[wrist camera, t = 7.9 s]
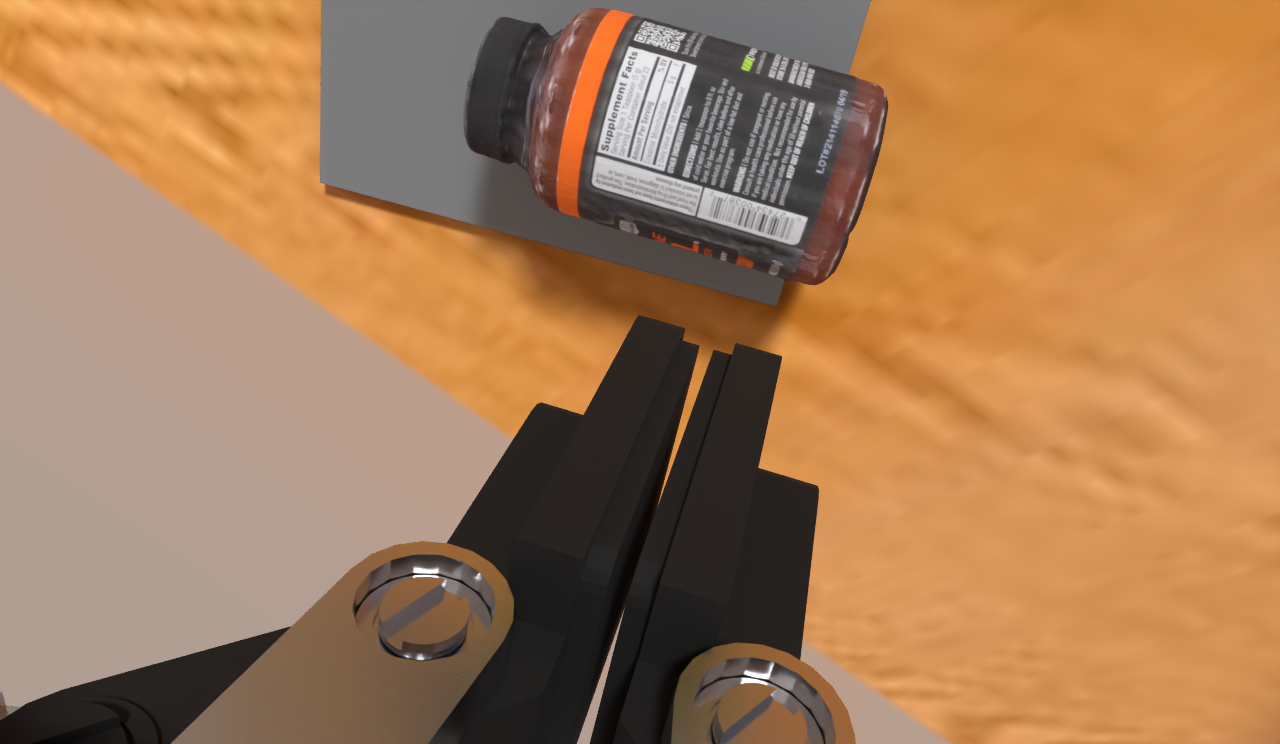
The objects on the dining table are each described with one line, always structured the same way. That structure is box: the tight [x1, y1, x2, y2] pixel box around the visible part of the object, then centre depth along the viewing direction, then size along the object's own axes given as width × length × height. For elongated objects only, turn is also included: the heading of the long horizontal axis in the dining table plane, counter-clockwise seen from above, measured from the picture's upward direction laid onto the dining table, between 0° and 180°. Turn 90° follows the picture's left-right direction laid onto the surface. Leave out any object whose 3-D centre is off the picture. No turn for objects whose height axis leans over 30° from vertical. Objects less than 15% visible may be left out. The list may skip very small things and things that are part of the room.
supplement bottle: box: [463, 8, 888, 285], centre depth 27 cm, size 6×6×11 cm
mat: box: [320, 0, 871, 307], centre depth 29 cm, size 17×15×1 cm
